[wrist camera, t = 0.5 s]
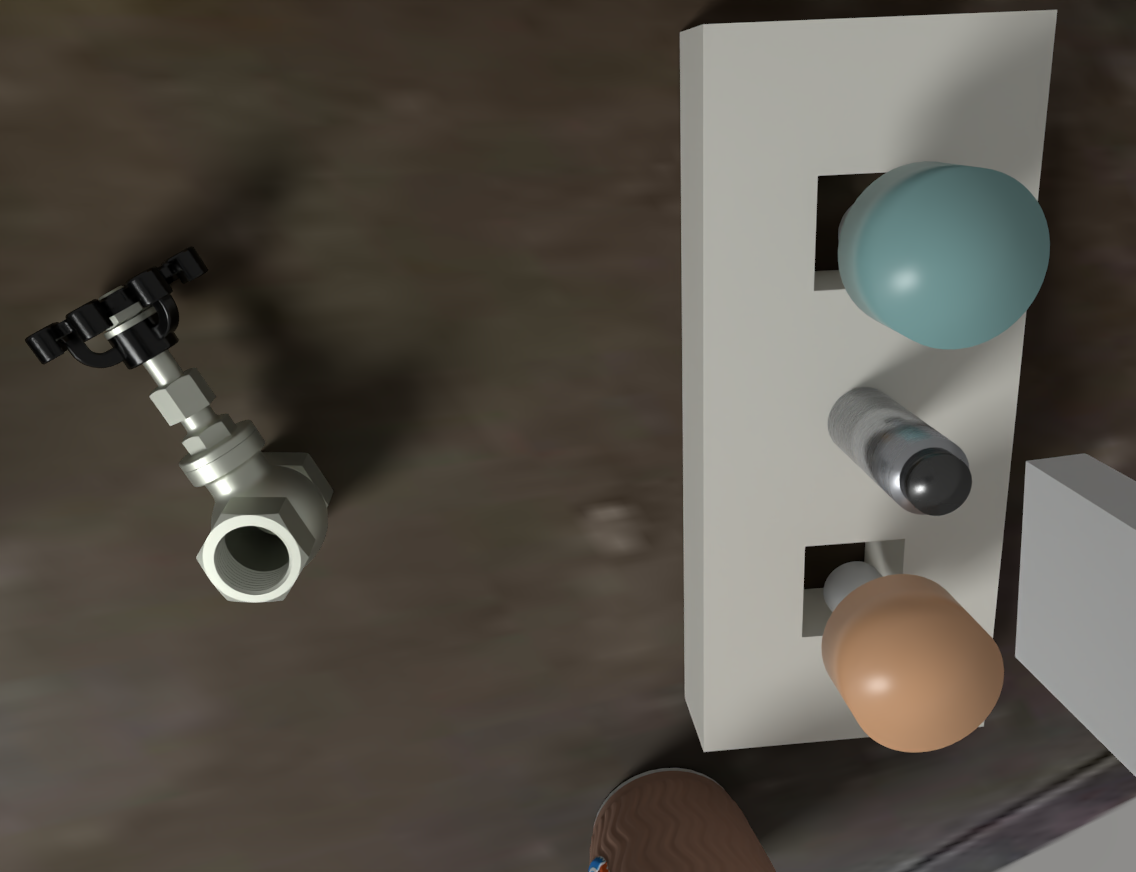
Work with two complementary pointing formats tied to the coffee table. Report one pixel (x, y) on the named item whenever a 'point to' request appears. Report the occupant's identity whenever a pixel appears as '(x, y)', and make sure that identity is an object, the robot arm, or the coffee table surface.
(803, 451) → the mount board
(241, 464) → the valve
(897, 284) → the knob teal
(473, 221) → the coffee table surface
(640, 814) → the coffee cup
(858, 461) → the pot post
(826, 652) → the knob terracotta
